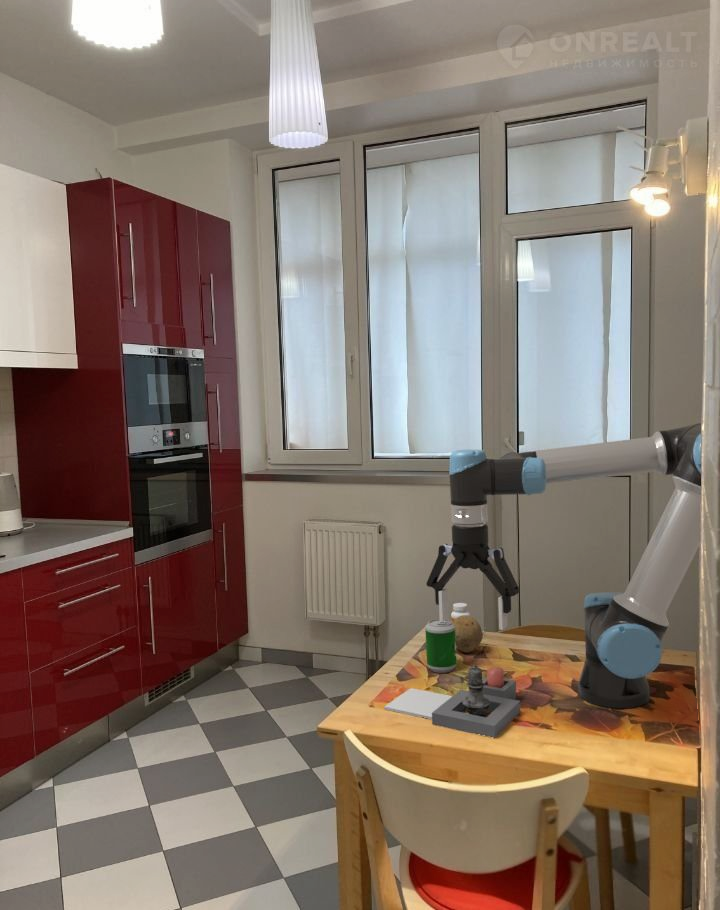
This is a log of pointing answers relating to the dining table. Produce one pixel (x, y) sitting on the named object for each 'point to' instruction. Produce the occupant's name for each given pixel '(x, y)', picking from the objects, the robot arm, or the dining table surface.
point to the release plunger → (495, 677)
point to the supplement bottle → (459, 611)
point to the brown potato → (467, 633)
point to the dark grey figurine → (476, 694)
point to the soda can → (441, 646)
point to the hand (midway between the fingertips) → (473, 623)
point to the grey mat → (417, 703)
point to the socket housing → (492, 725)
